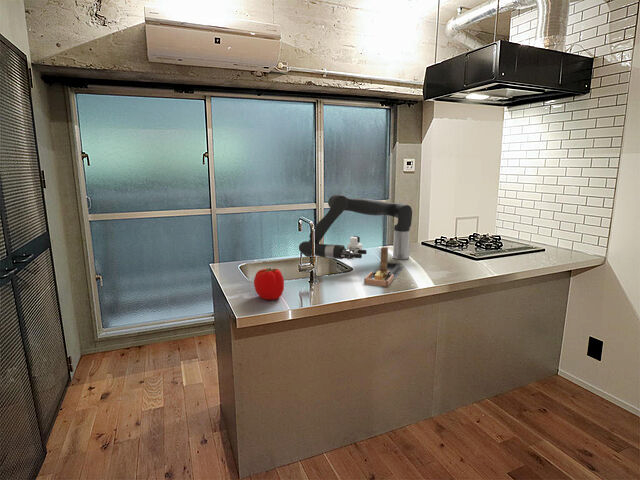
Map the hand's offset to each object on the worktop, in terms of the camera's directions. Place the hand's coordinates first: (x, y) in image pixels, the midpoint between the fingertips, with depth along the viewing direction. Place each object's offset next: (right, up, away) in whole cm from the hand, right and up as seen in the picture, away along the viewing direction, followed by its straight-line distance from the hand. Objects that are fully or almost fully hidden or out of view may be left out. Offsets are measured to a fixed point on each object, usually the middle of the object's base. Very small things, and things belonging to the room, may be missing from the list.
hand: (364, 254), depth 201 cm
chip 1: (+6, -13, -10) cm, 18 cm away
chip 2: (+8, -13, -7) cm, 16 cm away
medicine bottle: (-1, -2, +43) cm, 44 cm away
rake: (+10, -11, -2) cm, 15 cm away
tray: (+6, -14, -10) cm, 18 cm away
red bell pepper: (-45, -18, -29) cm, 57 cm away
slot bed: (+13, -10, +5) cm, 18 cm away
